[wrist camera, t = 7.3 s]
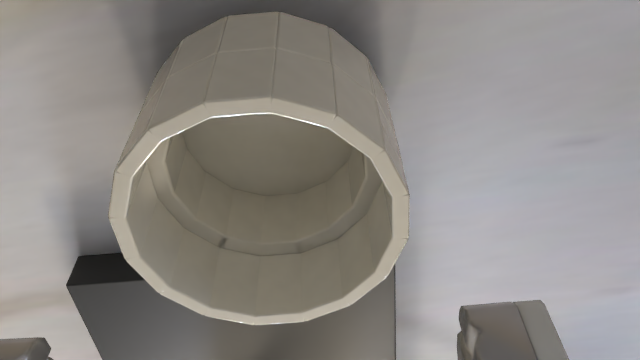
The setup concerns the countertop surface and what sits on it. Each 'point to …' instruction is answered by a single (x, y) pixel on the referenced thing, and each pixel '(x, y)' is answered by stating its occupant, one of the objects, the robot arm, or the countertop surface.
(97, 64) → the countertop surface
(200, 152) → the small bowl
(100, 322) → the scale
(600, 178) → the countertop surface
